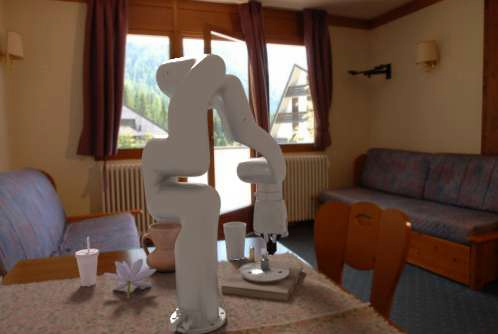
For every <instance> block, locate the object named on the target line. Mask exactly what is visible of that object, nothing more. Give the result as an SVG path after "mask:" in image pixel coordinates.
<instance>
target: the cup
mask: <svg viewBox="0 0 498 334" xmlns="http://www.w3.org/2000/svg"><path fill="white" fill-rule="evenodd" d="M246 232H247V223H246V222H241V221H230V222H226V223H223V234H224V242H225V250H226V251H225V252H226V257H225V258H226V260H227V259H229V260H228V261H230V260H235V259H242V258H244V259H245V251H246V249H245V248H246Z"/></svg>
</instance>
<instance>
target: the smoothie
mask: <svg viewBox="0 0 498 334" xmlns="http://www.w3.org/2000/svg"><path fill="white" fill-rule="evenodd" d="M86 240H87V241H86V244H87V245H86V246H87V248H86V249H81V250H78V251H76V252H75V254H74V257H75V258H76V262H77V267H78V273H79V277H80V282H81V283H80V284H81V286H82V287H84V286H88V287H92V286H94V285H96V282H97V269H98V261H99V259H98V258H99V257H98V256H99V254H100V250H99V249H97V248H90V246H91V245H90V236H87V237H86ZM91 285H92V286H91Z"/></svg>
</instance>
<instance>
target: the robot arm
mask: <svg viewBox="0 0 498 334" xmlns="http://www.w3.org/2000/svg"><path fill="white" fill-rule="evenodd" d="M225 62H226V61H225V60H224V59H223V58H222V57H221V56H220V55H218V54H214V53H205V54H204V53H203V54H195V55H190V56H184V57H180V58H174V59H170V60H166V61H164V62H163V63H161V64H160V65H159V66H158V68H157V70H156V73H155V80H156V85H157V86H158V88H159V89H160V91H161V92H162V94H164V96H166V97H167V98H170V100H169V103H168V107H167V130H168V131H167V134H162V135H156V136H153V137H151V138H150V139H149V140H148V141H147V142H146V143H145V145H144V147H143V150H142V156H141V170H142V171H141V172H142V179H143V186H144V188H143V189H144V195H145V201H146V202H145V203H146V207H147V208H146V209H147V210H148V213H149V215H150V216H151V217H152V218H153V219H154V220H156V221H159V222H160V223H161V222H167V223H175V224H181V225H182V229H181V231H180V233H179V235H178V237H177V239H176V242H175V270H176V271H175V295H176V296H175V297H176V309H175V311H174V312H173V313H172V314H171V315H170V317H169V324H168V325H167V326H168V327H167V328H168V330H169V331H170V332H171V333H172V332H173V333H174V332H175V333H176V332H178V333H182V334H206V333H211V332H213V331H215V330H218V329H219V328H221V327H222V326H223V325H224V324H225V322H226V321H227V315H226V314H227V313H226V311H225V310H224V309H223V308H222V307H220V302H219V301H220V300H219V299H220V297H219V296H220V295H219V292H220V291H219V261H218V260H219V257H218V256H219V255H218V228H219V219H220V214H221V208H222V207H221V206H222V201H221V196H220V194H219V192H218V190H217V189H216V188H215V187H213V186H212V185H210V184H206V183H203V182H190V181H189V182H188V181H185V182H184V181H183V182H181V181H180V182H178V181H177V178H197V177H201V176H202V177H203V176H204V175H205V174H206V173H207V172H208V171H209V169H210V165H211V152H210V150H211V149H210V140H209V139H210V138H209V137H210V136H209V127H208V126H209V125H208V110H216V113H217V115H218V117H219V120H220V122H221V124H222V127H223V129H224V132H225V134H226V136H227V137H228V138H229V139H230V140H232V141H234V142H236V143H238V144H240V145H243V146H245V147H248V148H250V149H253V150H254V151H255V152H258V153H259V154H260V155H261V156H260V157H246V158H244V159H242V160H241V161H239V162H238V164H237V167H236V175H237V177H238V179H239V180H240V181H242V182H243V183H245V184H254V185H255V184H257V191H254V192H253V197H256V198H257V200H255V203H254V209H253V210H254V211H253V222H252V223H253V224H252V225H253V231H254V235H255V236H258V237H261V238H263V240H264V242H265V243H266V245H265V246H266V247H265V248H266V251H267V256H270V255H271V256H274V255H275V254H276V253H277V250H278V245H277V244H278V240H280V239H281V238H287V237H288V236H289V231H288V227H289V226H288V225H289V224H288V211H287V207H286V202H285V200H284V199H283V181H284V180H285V178H286V176H287V166H286V161H285V157H284V154H283V151H282V148H281V147H280V145H279V143H278V142H277V140H275V138H274V137H272V136H271V134H269V133H268V132H267V131H266V130H265V129H264V128H262V127H261V126H260V125H258V124H257V122H256V119H255V116H254V114H253V112H252V108H251V105H250V102H249V99H248V96H247V94H246V91H245V88H244V85H243V82H242V81H241V79H240V78H239V77H238V76H237V75H235V74H231V73H227V66H226V63H225ZM271 235H272V237H271Z"/></svg>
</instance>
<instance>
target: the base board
mask: <svg viewBox="0 0 498 334" xmlns="http://www.w3.org/2000/svg"><path fill="white" fill-rule="evenodd" d="M255 262H261V260H260V261H259V260H255ZM249 263H250V259H248V260H246V262H245V263H243V264H242V265H241V266H240V267H239V268H238V269H237V270H236V271H235V272H234V273H233V274H232V275H231V276H230V277H229V278H228V279H227V280H226V281H225V282H223V284H222V285H221V293H222V294H228V295H237V296H243V297H244V296H245V297H251V298H253V297H254V298H261V299H268V300H269V299H270V300H277V301H278V300H279V301H286V302H287V301H288V300H289V298H290V296H291V294H292V293H293V291H294V288H295V286H296V285H297V283H298V281H299V279H300V278H299V276H300V274H301V272H302V270H304V269H303V266H304V265H303V264H295V263H293V264H292V263H281V262H280V263H281V264H284V265H286V266H287V267H288V268H289V277H288V278H287V279H285V280H283V281H281V282H277V283H269V284H261V283H253V282H249V281H246V280H244V279H243V278H242V277H241V268H242V267H243V266H244V265H247V264H249ZM302 273H303V272H302ZM301 275H302V274H301ZM300 277H301V276H300ZM298 278H299V279H298ZM297 280H298V281H297Z"/></svg>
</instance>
